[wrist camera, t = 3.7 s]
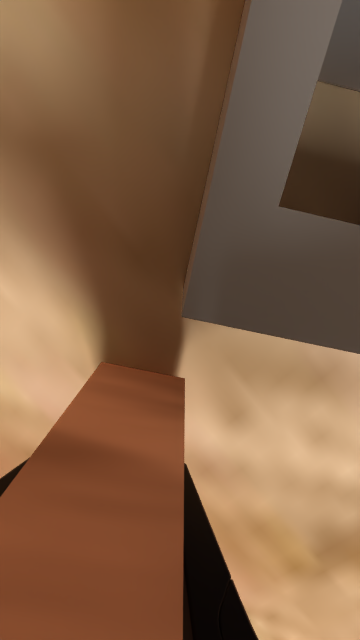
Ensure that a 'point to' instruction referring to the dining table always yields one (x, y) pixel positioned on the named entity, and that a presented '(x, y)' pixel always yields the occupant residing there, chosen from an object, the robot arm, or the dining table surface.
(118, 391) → the peg
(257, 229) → the socket board
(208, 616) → the robot arm
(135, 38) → the dining table surface
